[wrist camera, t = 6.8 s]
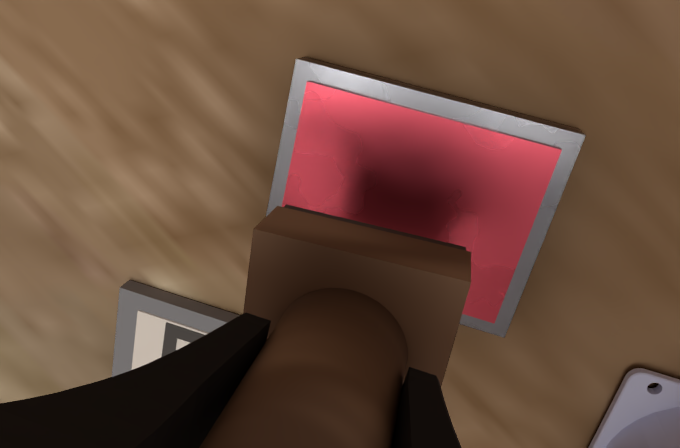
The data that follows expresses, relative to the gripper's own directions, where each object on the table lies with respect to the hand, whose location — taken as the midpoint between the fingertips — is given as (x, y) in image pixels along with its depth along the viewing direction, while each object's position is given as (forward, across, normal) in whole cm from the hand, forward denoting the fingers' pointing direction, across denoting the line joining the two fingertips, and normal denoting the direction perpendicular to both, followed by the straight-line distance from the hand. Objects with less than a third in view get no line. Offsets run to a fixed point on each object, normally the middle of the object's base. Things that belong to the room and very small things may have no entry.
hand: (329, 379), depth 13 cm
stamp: (+3, 0, 0) cm, 3 cm away
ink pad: (+10, 0, -1) cm, 11 cm away
